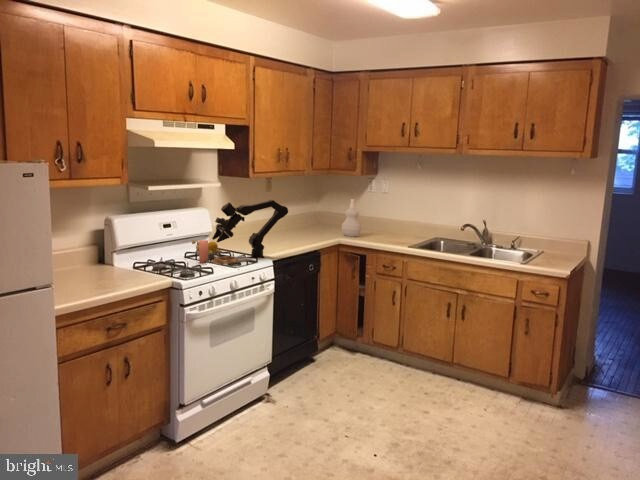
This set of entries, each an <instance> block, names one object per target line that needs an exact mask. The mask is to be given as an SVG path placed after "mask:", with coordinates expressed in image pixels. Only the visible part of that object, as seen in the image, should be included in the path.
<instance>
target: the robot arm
mask: <svg viewBox="0 0 640 480" xmlns="http://www.w3.org/2000/svg"><path fill="white" fill-rule="evenodd" d="M268 208H272V209H274V211H273V213H272V216H271V217H270V218H269V219H268V220H267V221H266V223H265V224H264V225H263V226H262V227H261V229H259V231H258V232H253V233H252V234H251V236H249V239H248V244H249V245H250V246H251V251H250V252H251V256H250V257H251V258H263V257H264V250H265V246H264V245H263V244H262V243H263V241H264V238H265V236H266V235H267V234H268V233H269V232H270V231H271V229H272V228H273V227H274V226H275V225H276V224H277V223H278V222H279V221H280V220H281V219H283V218H284V217H286V216H287V214H288V213H289V209H288V207H287V206H285V205H282V204H280V203H278V202H276V201H275V200H273V199H269V200H266V201H262V202H258V203H254V204H241V205H239V206H238V207H237V206H236V207H234V206H233V205H232V203H231V202H228V203H225V204H224V205H223V206H222V207H221V209H220V210H221V212H222V213H223V214H224V215H225V216H226V217H229V218H228V219H227V218H226V219H225V218H224V217H222V218H220V217H216V219H215V221H214V222H215V223H217V224H216V225H215V232H214V234H213V235H212V238H211V239H212V241H214V240H216V239H217V240H216V243H220V242H222V241H225V240H227V239H230V238H233V236H234V232H233V231H232V230H233V229H234V228H235V229H236V226H237V225H238V224H239V223H240V222H241V221H242V222H246V221H245V219H246V218H245V216H249V215H250V214H252V213H254V212H256V211H260V210H263V209H264V210H265V209H268Z"/></svg>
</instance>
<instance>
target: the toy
mask: <svg viewBox="0 0 640 480" xmlns="http://www.w3.org/2000/svg"><path fill="white" fill-rule="evenodd" d="M199 241H200V240H197V239H196V240H195V239H193V240H191V243H192V245H196V246H195V249H196V251H197V252H198V253H199ZM218 247H219V246H218V244H217V242H215V241H210V242H209V241H208V255H214V253H215V254H219V253H222V252H223V250H222V249H218Z"/></svg>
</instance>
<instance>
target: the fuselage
mask: <svg viewBox="0 0 640 480" xmlns="http://www.w3.org/2000/svg"><path fill="white" fill-rule="evenodd" d="M198 241H199V252H198V257H199V258H198V261H199V264H208V261H209V254H208V243H209V240H207V239H201V240H198Z"/></svg>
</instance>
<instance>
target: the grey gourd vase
mask: <svg viewBox="0 0 640 480" xmlns="http://www.w3.org/2000/svg"><path fill="white" fill-rule="evenodd" d="M355 206H356V205H355V199H354V198H353V199H352V198H351V199H350V204H349V208H348V209H347V210H345V212H344V214H345V217H346V218H345V220H344V221H343V222H342V224H341V227H340V228H341V232H342V234H343V235H344V236H345V237H351V238H354V237H358V236H359V235H360V234H361V231H362V225H361V224H360V222H359V220H358V217H359V215H360V211H358V210H357V209H356V207H355Z"/></svg>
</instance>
